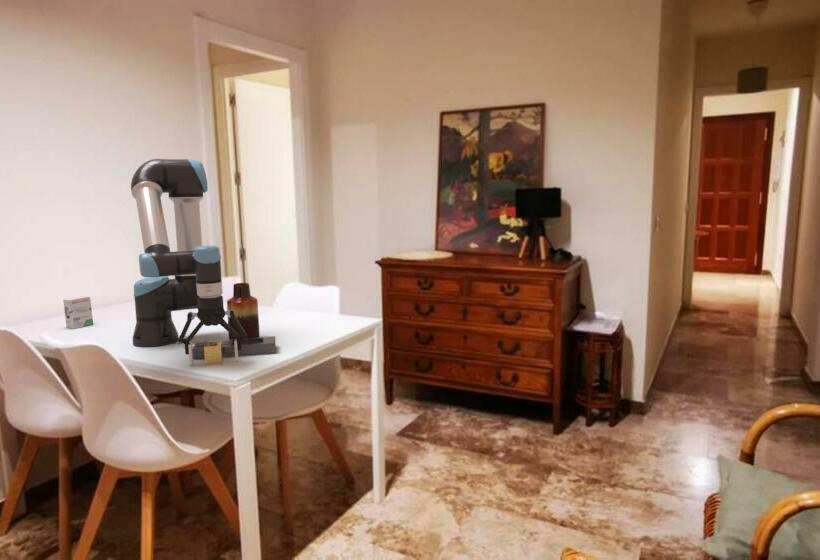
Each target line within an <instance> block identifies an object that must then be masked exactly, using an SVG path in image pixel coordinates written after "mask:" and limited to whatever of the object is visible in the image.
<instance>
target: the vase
mask: <svg viewBox="0 0 820 560" xmlns="http://www.w3.org/2000/svg"><path fill="white" fill-rule="evenodd" d="M232 288H233V291H232V296H231V297H230V298H228V299H227V300H226V311H229V310H231V309H233V310H234V312H235V316H236V318H237V320H238V321H239V323H240V324H241V326H242V328H243V329H244V331H245V333H246V334H247V336H246V338H258V337H260V319H259V304H258V301H259V300H258V298H257V297H255V296H252V295H251V289H250V283H248V282H237V283H234V284H233V287H232ZM227 324H229V325H230V326H231V327H232V328H233V329H234V330H235V331H236V332H237V333H238V334H239V335H241V334H240V333H239V331H238V329H237V328H236V326H235V324H234V323H233V321H232V319H231V317H228V316H227ZM229 339H235V338H234V337H233V336H232V335H231V334H230V333H229V332H228V340H229Z"/></svg>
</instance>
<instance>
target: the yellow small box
mask: <svg viewBox="0 0 820 560" xmlns="http://www.w3.org/2000/svg"><path fill="white" fill-rule="evenodd" d="M213 341H214V340H213ZM204 355H205V359H204V366H205V367H206V366H215V365H216V366H218V365H223V362H224V357H223V347H222V342H215V341H214V342H209V343H205V346H204Z"/></svg>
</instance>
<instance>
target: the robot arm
mask: <svg viewBox="0 0 820 560" xmlns="http://www.w3.org/2000/svg"><path fill="white" fill-rule="evenodd" d="M206 174H207V173H206V170H205V167H204V165H203V163H202V162H201V161H199V160H198V159H188V158H185V159H184V158H183V159H181V158H177V159H175V158H174V159H173V158H172V159H171V158H169V159H168V158H166V159H165V158H153V159H151V160H148V161H145V162H144V163H142V164H141V165H140V166H138V168H137V169H136V171H135V172H134V174H133V176H132V178H131V183H130V190H131V196H132V197H133V198H134V200H135V203H136V207H137V213H138V219H139V225H140V233H141V234H140V235H141V239H142V245H143V250H144V251H143V252H144V253H140V254H139V256H138V264H139V265H138V266H139V273H140V276H141V277H142V278H141V279H139V280H137V281H135V283H134V284H133V297H134V306H135V307H134V308H135V319H136V323H135V327H134V330H133V335H132V345H133V346H135V347H142V348H143V347H145V348H146V347H148V348H149V347H150V348H151V347H158V346H165V345H169V344H173V343H175V342H178V344H183V345H184V352H185V355H188V359H189V366H193V364H194V359H193V342H191V341H192V340H193V338H195V336H196V335H197V334H198V332H199V331H200V329H201V328H202V327H203V326H206V327H210V326H216V327H217V326H218V325H220V326H221V327H222V328H223V329H224V330H226V331H227V332H228V334H229V333H230V334H231V335H232V336H233V337H234V338H235V341H234V345H235V356H234V360H235V362H239V356H238V350H241V340H242V339H244V338H246V336H247V334H246V333H245V331H244V329H243V328H242V326H241V324H240V323H239V321H238V320H237V318H236V316H235V312H234V310H233V309H231V310H229V311H227V310H225V308H224V296H223V293H224V292H223V281H222V280H223V279H222V268H221V267H222V263H221V259H222V256H221V251H220V247H219V246H217V245H203V239H202V238H203V236H202V225H201V221H202V220H201V209H200V202H201V201H202V200H203V199H204V193H207V192H208V188H209V186H208V178H207V175H206ZM166 193H167V194H168V199H169V200H170V201H172V203H173V209H174V221H175V222H174V223H175V234H176V235H175V236H176V237H175V238H176V249H177V251H171V247H170V243H169V237H168V231H167V225H166V221H165V215H164V209H163V203H162V199H161V197H162V196H163V194H166ZM170 276H171V277H172V276H174V278H170ZM185 310H197V312H192V311H189V312H188V313H187V314H186V315H187V318H186V321H185V325H184V326H183V328H182V330H181V333H180V334H179V333H178V330H177V327H176V326H175V323H174V320H173V318H172V312H176V311H185ZM225 316H227V318H228V317H231V319H232V321H233V323H234V324H235V326H236V328H237V329H238V331H239V333H240V334H241V335H239V334H238V333H237V332H236V331H235V330H234V329H233V328H232V327H231V326H230V325H229V324H228V322H227V321H226V320H225V319H224V318H225ZM195 318H197V319H198V320H199V323H198V324H197V325H196V326H195V328H194V329H192V331H191V333H190V334H188V336H187V338H185V337H186V334H187V333H188V330H189V327H190V326H191V323H192V321H193V320H194V319H195Z"/></svg>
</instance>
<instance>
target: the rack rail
mask: <svg viewBox="0 0 820 560" xmlns="http://www.w3.org/2000/svg"><path fill="white" fill-rule="evenodd" d="M214 341H215V342H222V347H223V358H228V357H229V358H230V357H231V358H232V357H235V345H234V341H235V339H229V338H228V339H219V340H215V339H214V340H202V341H195V343H194V345H193V346H192V349H193V360H205V355H204V346H205V343H209V342H214ZM276 345H277V344H276V335H274V336H262V337H258V338H244V339H242V340H241V350H238V357H241V356H242V357H243V356H254V355H255V356H256V355H258V356H259V355H268V354H277V349H276V348H277V347H276Z"/></svg>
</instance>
